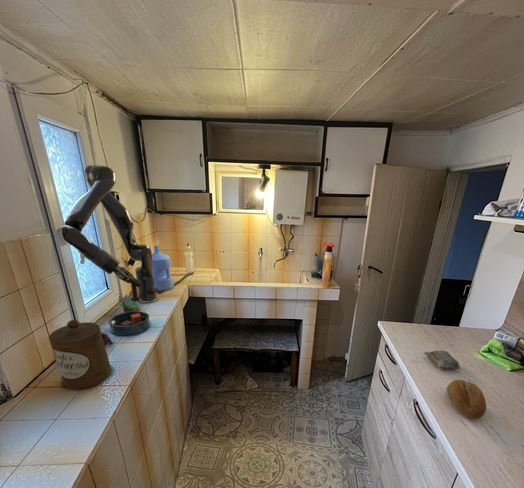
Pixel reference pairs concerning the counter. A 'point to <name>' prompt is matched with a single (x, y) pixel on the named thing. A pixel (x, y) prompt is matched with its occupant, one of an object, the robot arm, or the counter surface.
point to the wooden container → (80, 354)
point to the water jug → (161, 270)
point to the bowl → (130, 329)
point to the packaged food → (443, 359)
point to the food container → (129, 303)
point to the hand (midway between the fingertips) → (139, 284)
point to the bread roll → (467, 398)
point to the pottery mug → (106, 339)
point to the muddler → (134, 293)
